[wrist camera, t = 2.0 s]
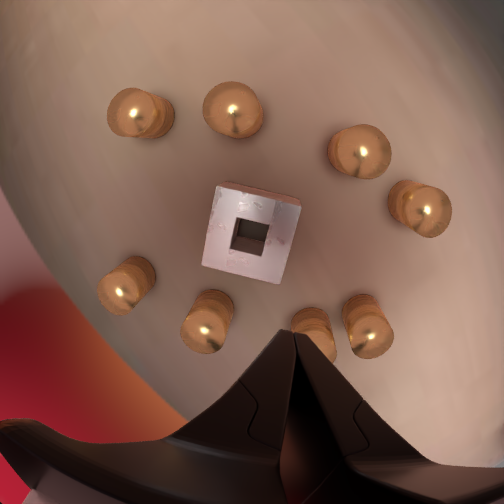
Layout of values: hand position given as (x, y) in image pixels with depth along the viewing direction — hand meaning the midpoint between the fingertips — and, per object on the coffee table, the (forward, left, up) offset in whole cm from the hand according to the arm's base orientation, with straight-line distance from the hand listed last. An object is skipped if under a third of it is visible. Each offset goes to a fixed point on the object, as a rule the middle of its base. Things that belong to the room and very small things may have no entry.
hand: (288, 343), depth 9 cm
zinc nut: (0, +2, -12) cm, 13 cm away
